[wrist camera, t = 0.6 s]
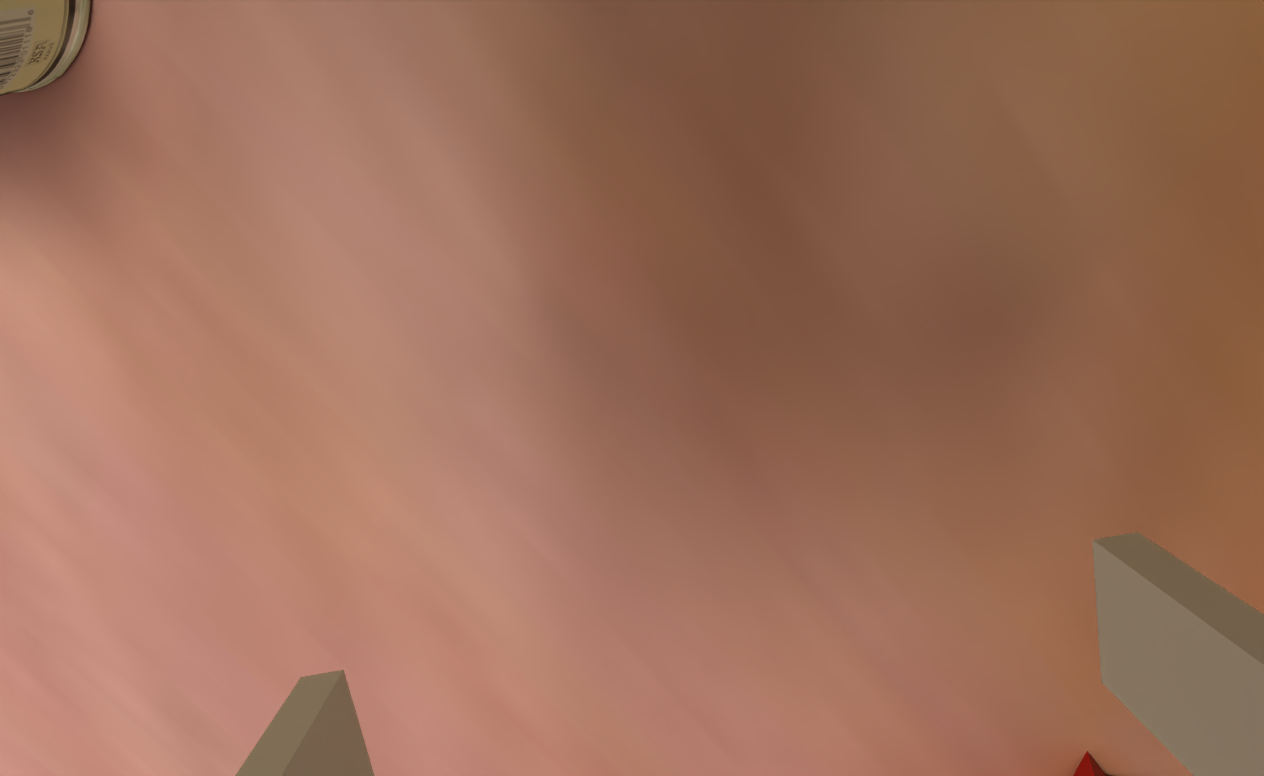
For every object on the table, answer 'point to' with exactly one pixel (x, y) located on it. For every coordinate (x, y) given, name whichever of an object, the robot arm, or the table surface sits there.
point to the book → (1088, 767)
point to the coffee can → (39, 41)
